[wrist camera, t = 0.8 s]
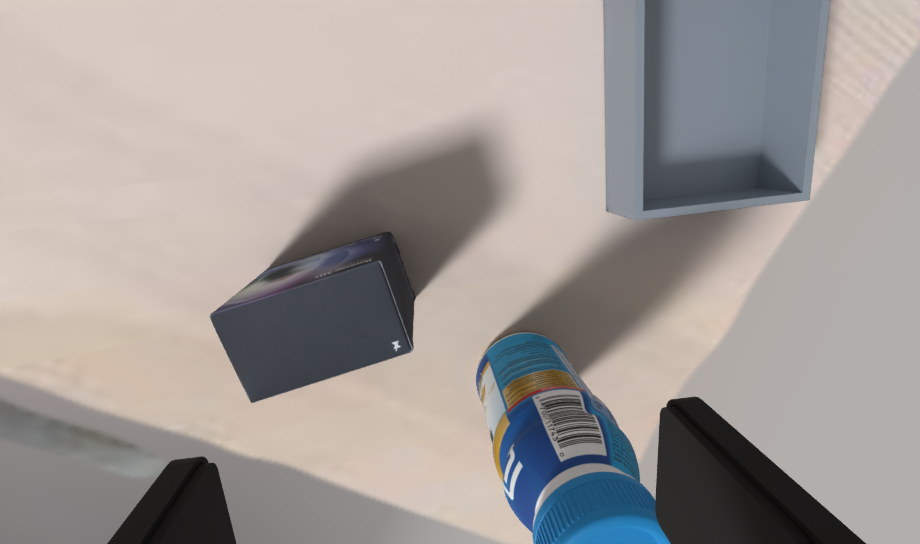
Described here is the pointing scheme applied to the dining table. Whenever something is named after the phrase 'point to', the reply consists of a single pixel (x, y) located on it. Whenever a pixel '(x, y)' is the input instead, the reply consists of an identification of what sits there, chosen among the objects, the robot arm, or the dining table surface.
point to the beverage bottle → (561, 449)
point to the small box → (318, 318)
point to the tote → (710, 103)
